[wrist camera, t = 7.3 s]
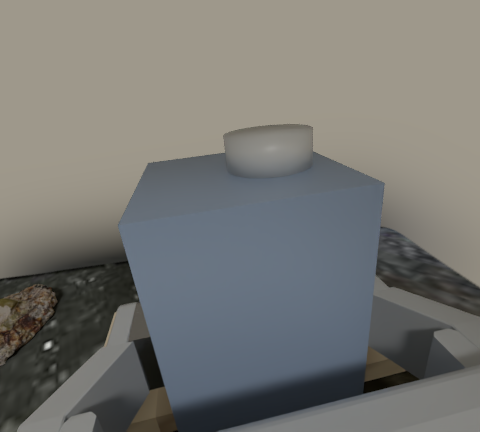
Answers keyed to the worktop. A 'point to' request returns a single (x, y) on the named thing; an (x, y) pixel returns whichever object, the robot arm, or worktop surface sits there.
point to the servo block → (255, 276)
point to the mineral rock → (23, 317)
